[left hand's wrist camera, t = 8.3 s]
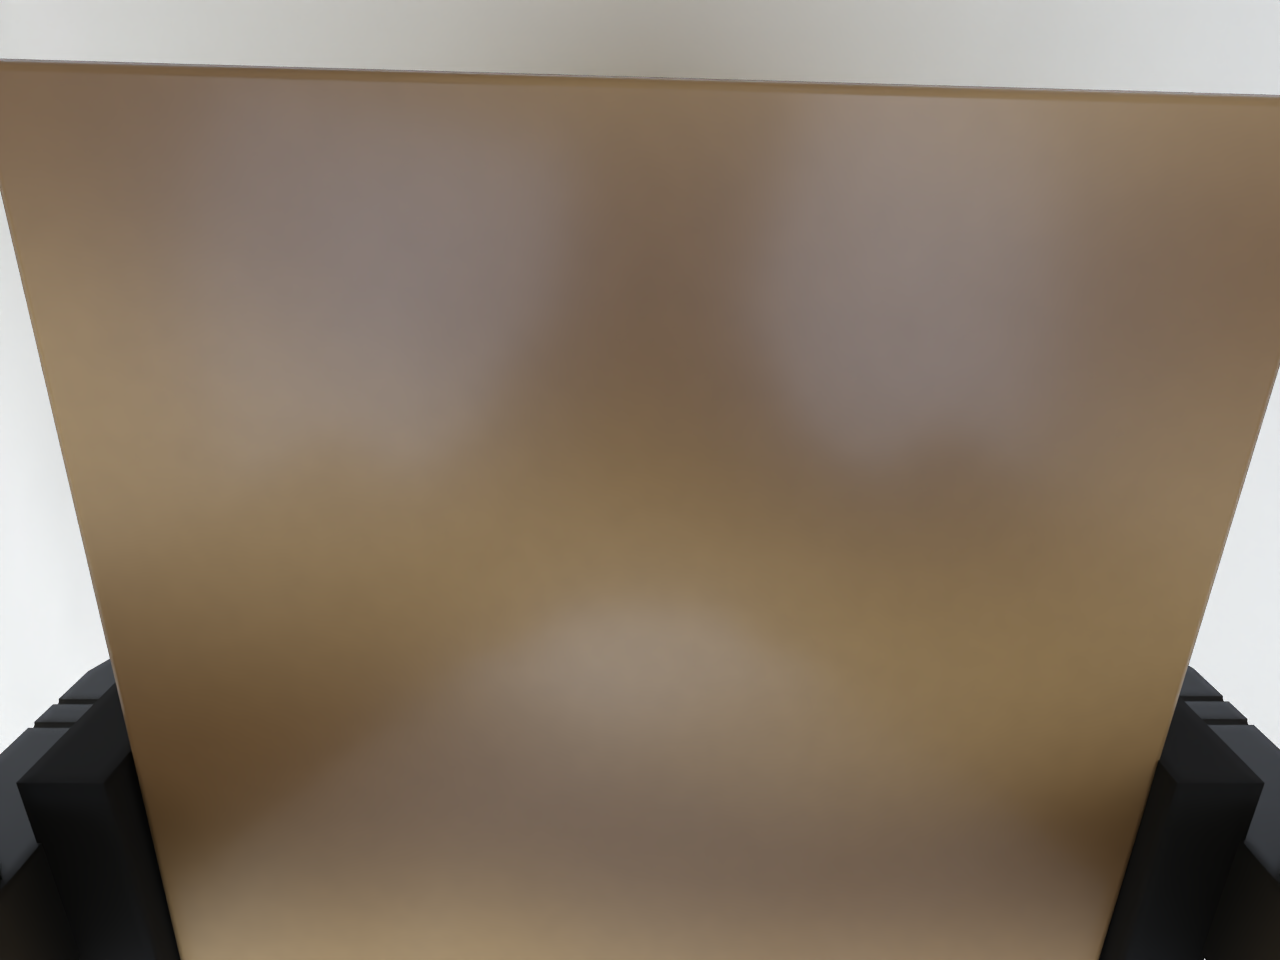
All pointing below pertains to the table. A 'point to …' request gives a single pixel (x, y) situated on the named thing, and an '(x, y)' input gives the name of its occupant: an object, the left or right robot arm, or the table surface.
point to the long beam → (644, 492)
